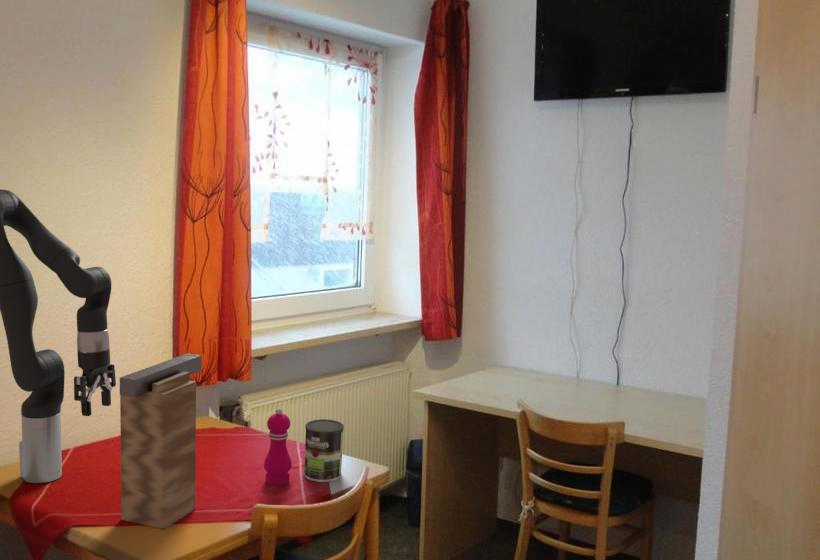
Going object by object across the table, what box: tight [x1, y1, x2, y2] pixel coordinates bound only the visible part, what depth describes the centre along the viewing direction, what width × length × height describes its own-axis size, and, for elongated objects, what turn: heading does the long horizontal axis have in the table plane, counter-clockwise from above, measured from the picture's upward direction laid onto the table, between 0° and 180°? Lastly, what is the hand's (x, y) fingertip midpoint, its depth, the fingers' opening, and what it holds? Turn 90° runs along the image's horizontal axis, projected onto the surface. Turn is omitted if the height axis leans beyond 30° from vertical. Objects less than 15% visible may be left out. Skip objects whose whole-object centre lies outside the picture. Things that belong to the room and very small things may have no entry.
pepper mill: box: [263, 407, 293, 486], centre depth 217 cm, size 7×7×20 cm
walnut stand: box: [119, 371, 197, 531], centre depth 193 cm, size 12×12×34 cm
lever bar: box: [119, 352, 203, 398], centre depth 192 cm, size 4×25×4 cm, turn 160°
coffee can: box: [303, 418, 345, 483], centre depth 223 cm, size 10×10×14 cm
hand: (96, 410), depth 207 cm, fingers open, 8 cm apart
